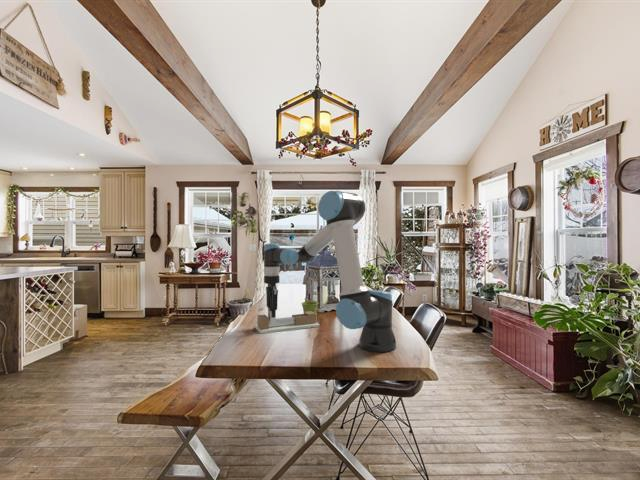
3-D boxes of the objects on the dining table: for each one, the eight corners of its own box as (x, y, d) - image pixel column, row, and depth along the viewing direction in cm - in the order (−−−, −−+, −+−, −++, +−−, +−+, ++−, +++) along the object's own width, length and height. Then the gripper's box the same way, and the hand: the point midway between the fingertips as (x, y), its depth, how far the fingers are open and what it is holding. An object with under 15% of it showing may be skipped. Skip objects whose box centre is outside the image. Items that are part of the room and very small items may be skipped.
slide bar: (296, 323, 171) (296, 306, 171) (263, 327, 164) (263, 308, 164) (294, 322, 174) (294, 304, 173) (262, 326, 167) (262, 307, 167)
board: (319, 326, 171) (319, 314, 171) (260, 333, 159) (260, 319, 159) (310, 321, 182) (310, 309, 182) (254, 327, 170) (254, 314, 170)
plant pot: (298, 317, 190) (298, 302, 190) (314, 316, 194) (314, 300, 194) (305, 321, 182) (305, 305, 182) (321, 319, 186) (321, 303, 186)
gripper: (284, 276, 161) (284, 325, 161) (274, 273, 176) (274, 318, 176) (268, 277, 158) (268, 327, 158) (260, 273, 173) (260, 319, 173)
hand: (271, 322), depth 167 cm, fingers closed on slide bar, 3 cm apart
